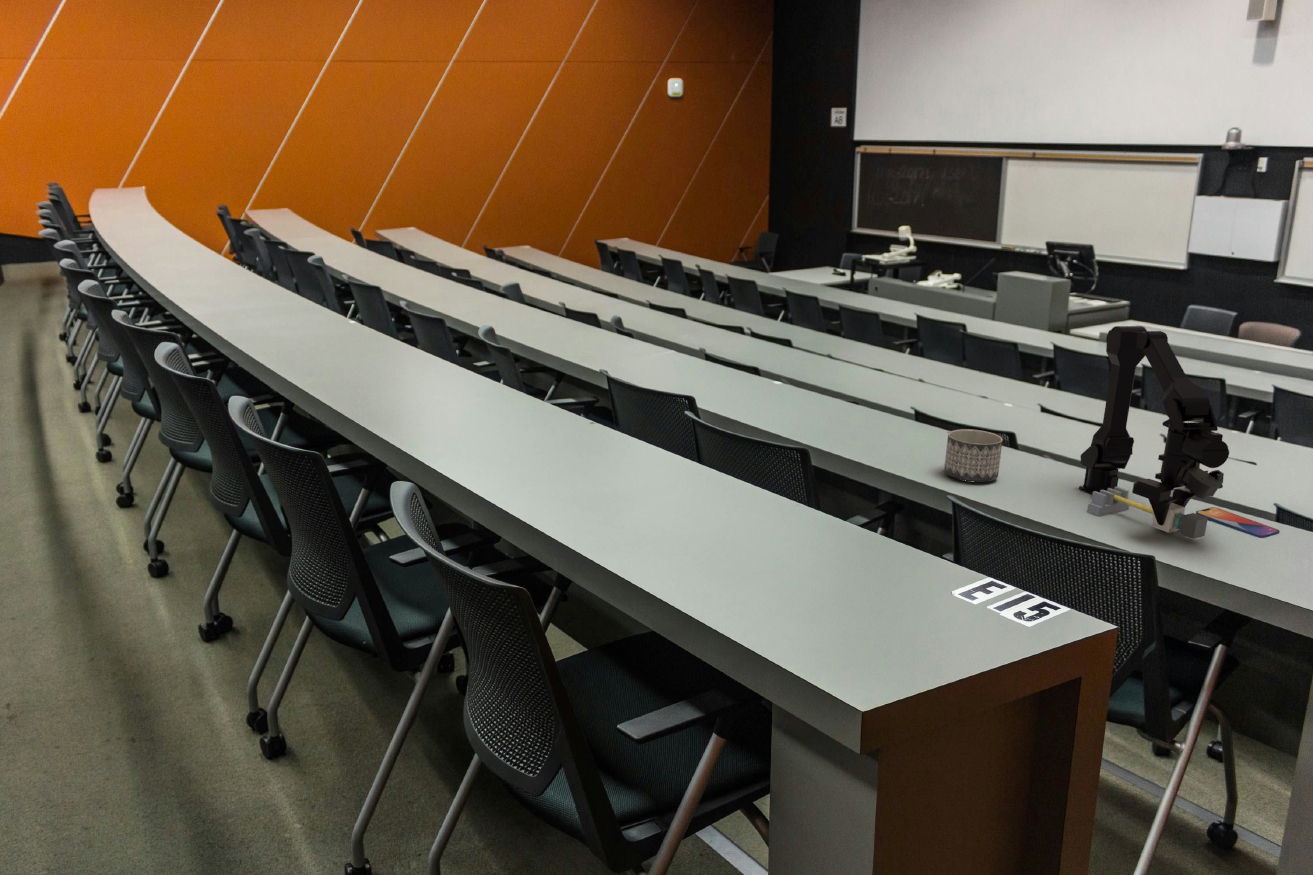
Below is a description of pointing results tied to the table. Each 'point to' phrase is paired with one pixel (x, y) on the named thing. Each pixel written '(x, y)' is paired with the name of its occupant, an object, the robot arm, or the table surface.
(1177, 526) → the teal puck
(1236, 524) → the smartphone
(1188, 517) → the dark grey cube
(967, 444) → the planter
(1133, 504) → the rod
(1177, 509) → the sleeve
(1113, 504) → the comb
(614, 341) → the table surface
